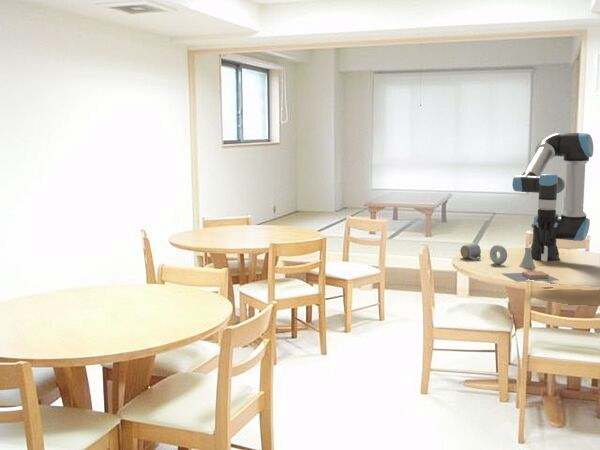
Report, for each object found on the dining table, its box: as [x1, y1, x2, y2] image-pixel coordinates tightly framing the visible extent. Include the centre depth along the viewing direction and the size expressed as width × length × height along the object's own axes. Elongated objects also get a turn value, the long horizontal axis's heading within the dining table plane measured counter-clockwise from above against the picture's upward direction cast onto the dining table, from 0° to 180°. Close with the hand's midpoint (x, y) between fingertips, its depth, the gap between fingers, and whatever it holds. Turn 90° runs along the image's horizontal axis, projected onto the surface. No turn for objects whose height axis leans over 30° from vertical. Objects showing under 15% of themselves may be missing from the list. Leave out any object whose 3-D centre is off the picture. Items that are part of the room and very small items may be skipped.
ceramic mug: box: [459, 242, 482, 261], centre depth 334 cm, size 11×8×8 cm
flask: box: [518, 247, 537, 269], centre depth 310 cm, size 7×7×10 cm
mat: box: [501, 272, 559, 283], centre depth 289 cm, size 20×16×1 cm
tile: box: [521, 270, 550, 279], centre depth 290 cm, size 2×7×9 cm
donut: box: [489, 244, 508, 265], centre depth 319 cm, size 10×4×10 cm, turn 32°
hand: (544, 260), depth 289 cm, fingers closed
